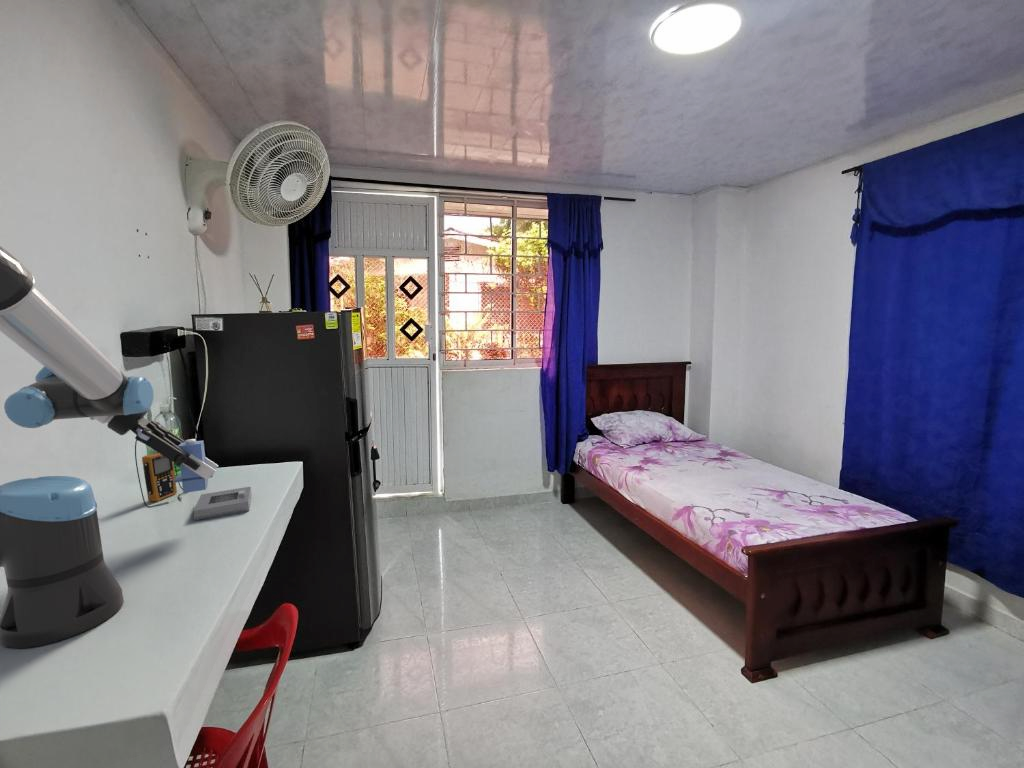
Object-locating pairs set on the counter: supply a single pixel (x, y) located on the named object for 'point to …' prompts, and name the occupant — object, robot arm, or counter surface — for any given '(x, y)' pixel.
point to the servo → (188, 477)
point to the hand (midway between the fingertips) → (212, 472)
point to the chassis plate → (223, 503)
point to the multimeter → (158, 477)
